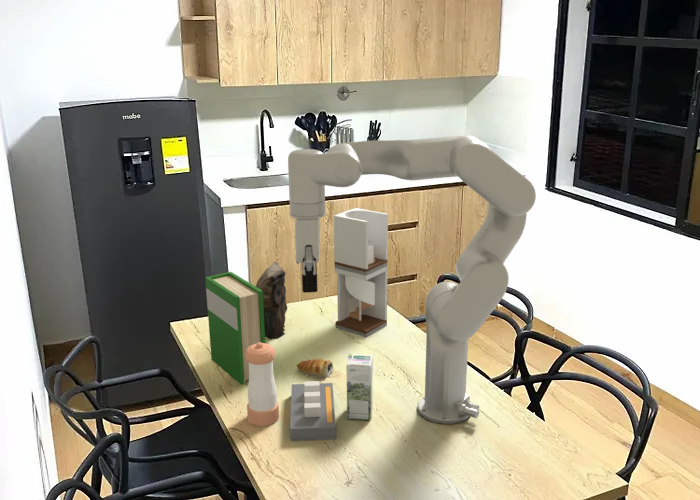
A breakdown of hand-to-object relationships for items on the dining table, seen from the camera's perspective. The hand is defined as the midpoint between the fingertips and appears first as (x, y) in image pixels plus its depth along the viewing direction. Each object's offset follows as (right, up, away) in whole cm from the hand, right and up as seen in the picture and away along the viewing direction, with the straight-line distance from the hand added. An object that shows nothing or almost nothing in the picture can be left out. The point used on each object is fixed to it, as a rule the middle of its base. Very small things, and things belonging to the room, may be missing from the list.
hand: (309, 283), depth 157 cm
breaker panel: (0, -31, +10) cm, 33 cm away
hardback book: (-21, -24, +33) cm, 46 cm away
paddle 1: (0, -27, +14) cm, 30 cm away
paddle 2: (0, -30, +4) cm, 30 cm away
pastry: (0, -25, +31) cm, 40 cm away
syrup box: (+11, -31, +11) cm, 35 cm away
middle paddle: (0, -28, +9) cm, 30 cm away
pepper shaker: (-11, -32, +10) cm, 35 cm away
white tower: (+12, -16, +58) cm, 62 cm away
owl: (-16, -17, +57) cm, 61 cm away
